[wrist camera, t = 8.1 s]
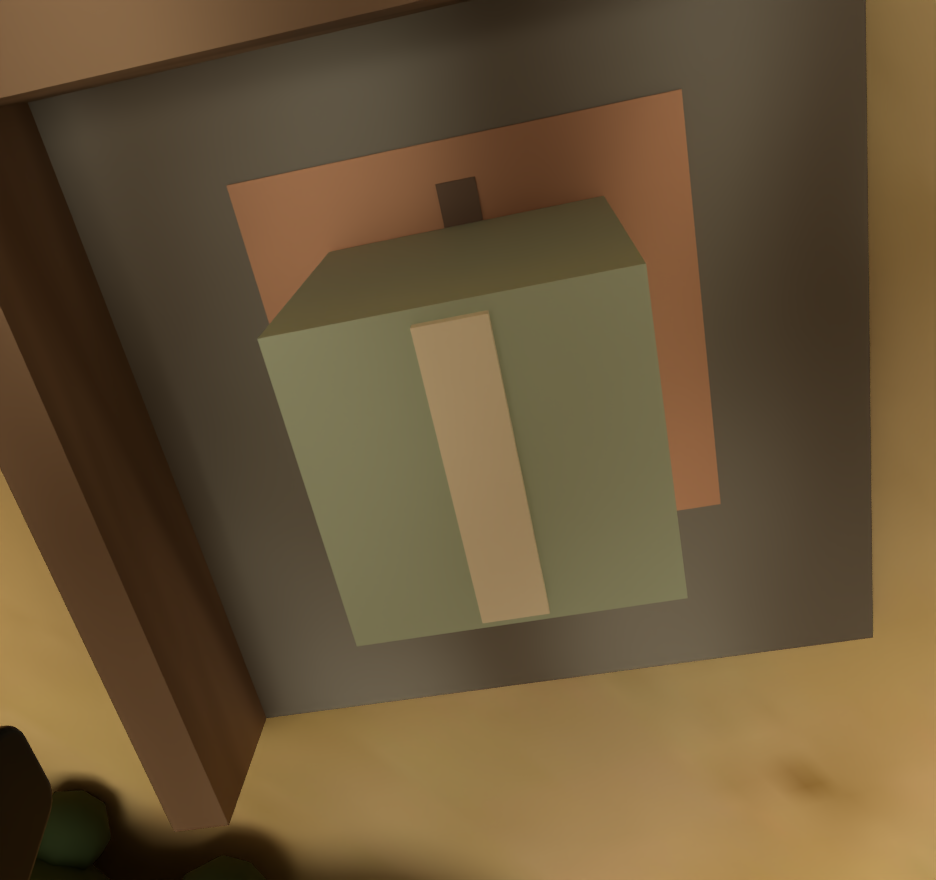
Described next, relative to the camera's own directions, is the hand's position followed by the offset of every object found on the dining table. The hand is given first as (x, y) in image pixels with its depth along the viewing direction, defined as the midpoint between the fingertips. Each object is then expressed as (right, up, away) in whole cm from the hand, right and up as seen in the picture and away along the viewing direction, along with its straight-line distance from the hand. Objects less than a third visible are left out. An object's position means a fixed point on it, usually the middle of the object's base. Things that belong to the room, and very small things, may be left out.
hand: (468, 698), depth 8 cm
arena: (+1, +3, +9) cm, 10 cm away
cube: (0, +4, +8) cm, 9 cm away
